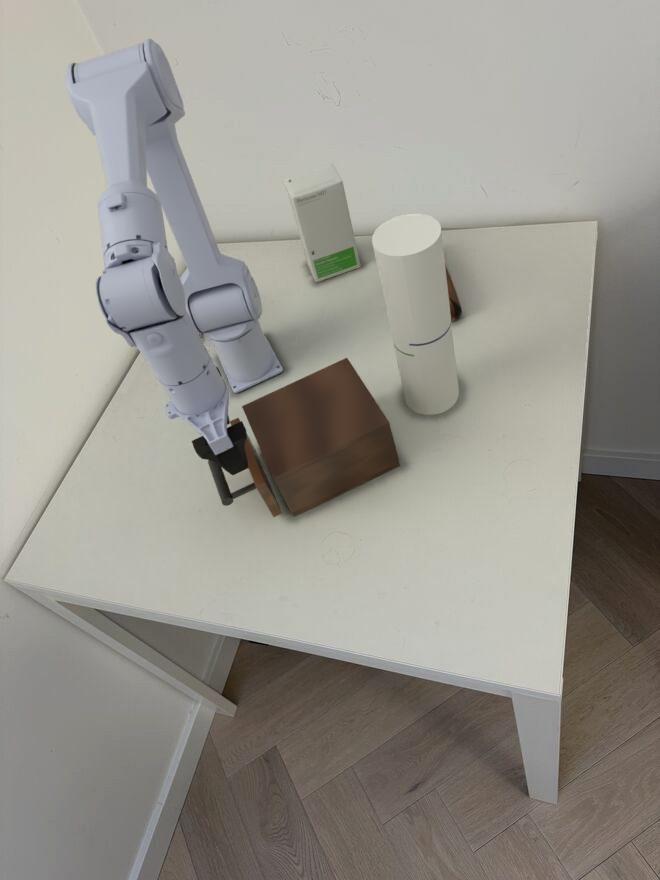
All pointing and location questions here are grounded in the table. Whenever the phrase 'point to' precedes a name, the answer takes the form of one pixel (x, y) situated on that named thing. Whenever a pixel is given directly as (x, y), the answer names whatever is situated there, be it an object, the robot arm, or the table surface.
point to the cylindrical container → (418, 309)
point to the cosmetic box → (323, 222)
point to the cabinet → (322, 436)
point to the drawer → (259, 483)
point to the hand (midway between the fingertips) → (230, 446)
